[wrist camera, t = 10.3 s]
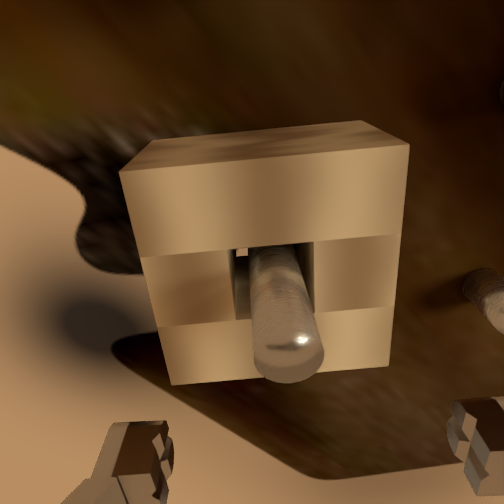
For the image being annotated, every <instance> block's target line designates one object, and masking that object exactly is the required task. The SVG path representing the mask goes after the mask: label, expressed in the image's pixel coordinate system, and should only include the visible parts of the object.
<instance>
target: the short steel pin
mask: <svg viewBox="0 0 504 504" xmlns="http://www.w3.org/2000/svg"><path fill="white" fill-rule="evenodd" d="M462 292H463V294H464V295H465V296H466V297H467V298H468V299H469V300H470V302H471V303H472V304H473V305H474V306H475V307H476V308H477V309H478V310H479V311H480V312H481V313H482V314H483V315H484V316H485V317H486V318H487V319H488V320H489V321H490V322H491V323H492V324H493V326H494V327H495V328H496V329H497V330H498V331H499V332H501V333H503V334H504V278H503V277H502V276H500V275H499V274H498V273H497V272H496V271H494V270H493V269H489V268H482V269H478V270H475V271H474V272H472V273H470V274H469V275H468V276H467V277H466V278H465V280H464V282H463V284H462Z"/></svg>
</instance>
